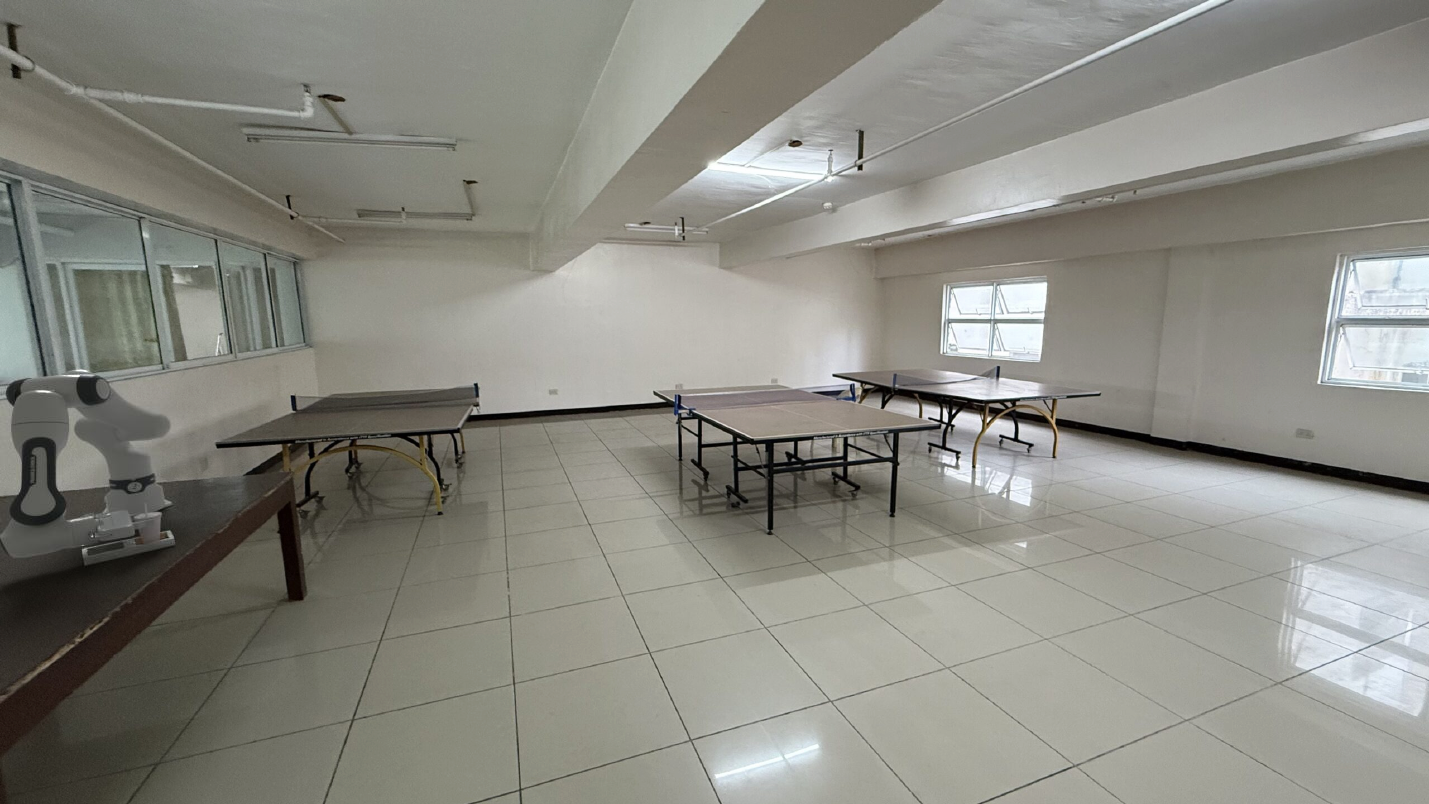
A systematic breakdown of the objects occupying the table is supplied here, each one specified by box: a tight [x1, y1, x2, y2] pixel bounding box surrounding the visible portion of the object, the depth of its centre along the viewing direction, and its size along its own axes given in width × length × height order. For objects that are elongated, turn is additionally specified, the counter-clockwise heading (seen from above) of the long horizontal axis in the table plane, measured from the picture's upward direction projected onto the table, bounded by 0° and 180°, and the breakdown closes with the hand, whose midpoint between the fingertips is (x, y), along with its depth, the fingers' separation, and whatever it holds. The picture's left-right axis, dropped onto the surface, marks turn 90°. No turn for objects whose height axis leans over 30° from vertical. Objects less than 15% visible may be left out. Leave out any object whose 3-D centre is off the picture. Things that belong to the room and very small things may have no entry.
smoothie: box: [133, 503, 163, 544], centre depth 174 cm, size 6×6×14 cm
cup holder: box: [81, 530, 176, 566], centre depth 171 cm, size 10×20×2 cm, turn 142°
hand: (152, 518), depth 174 cm, fingers closed on smoothie, 6 cm apart
